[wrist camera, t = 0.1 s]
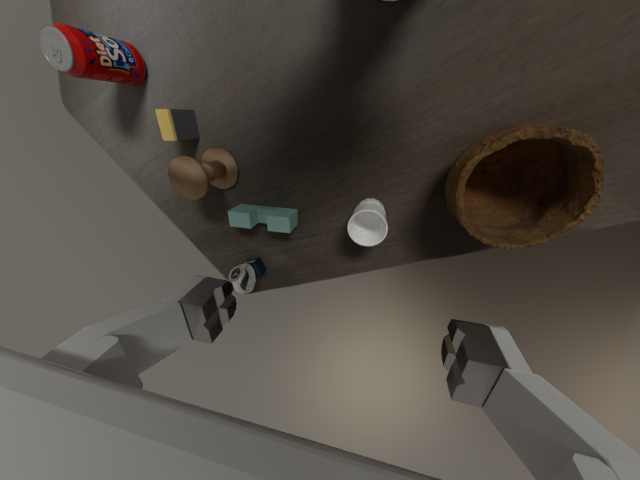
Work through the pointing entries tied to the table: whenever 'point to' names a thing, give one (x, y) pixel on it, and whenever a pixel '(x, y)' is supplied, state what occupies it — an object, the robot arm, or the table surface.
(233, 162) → the bobbin
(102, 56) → the soda can
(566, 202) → the bowl
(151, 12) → the table surface
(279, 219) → the notch board
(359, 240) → the white cup
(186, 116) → the yellow and black block
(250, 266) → the watch
